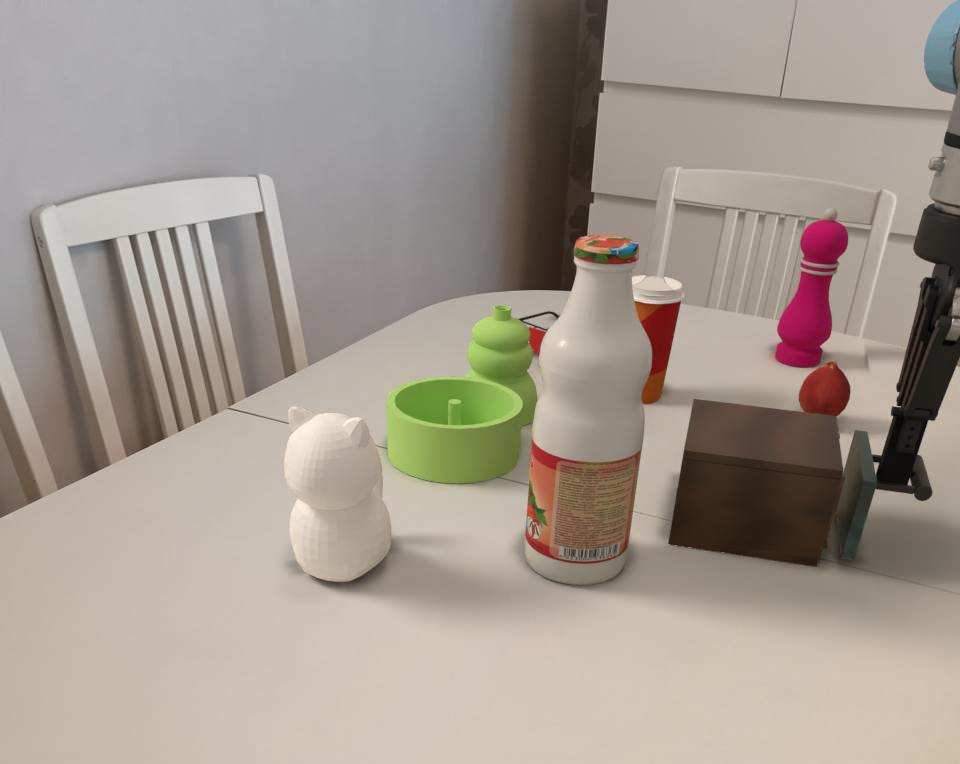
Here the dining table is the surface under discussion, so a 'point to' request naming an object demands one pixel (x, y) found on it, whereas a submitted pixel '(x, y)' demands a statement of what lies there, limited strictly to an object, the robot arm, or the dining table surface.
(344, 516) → the cat figurine
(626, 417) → the fruit juice
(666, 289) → the paper cup
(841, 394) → the onion
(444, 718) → the dining table surface
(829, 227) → the pepper mill
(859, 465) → the wooden drawer
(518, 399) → the green round pieces
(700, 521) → the drawer cabinet
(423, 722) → the dining table surface
